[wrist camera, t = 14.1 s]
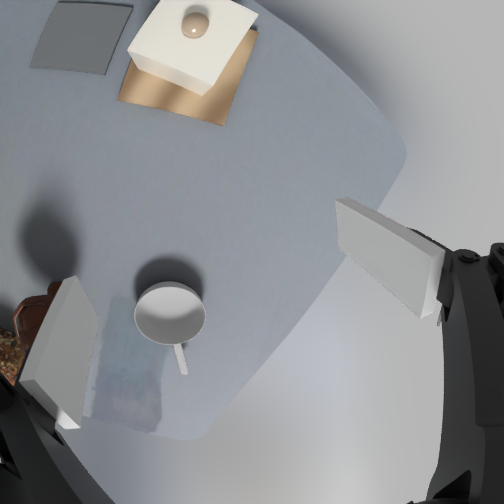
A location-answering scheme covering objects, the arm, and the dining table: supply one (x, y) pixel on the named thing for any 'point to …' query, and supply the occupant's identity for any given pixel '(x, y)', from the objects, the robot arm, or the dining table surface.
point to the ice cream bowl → (32, 316)
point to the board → (183, 100)
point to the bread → (10, 355)
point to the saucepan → (170, 316)
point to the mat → (80, 37)
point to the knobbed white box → (190, 40)
